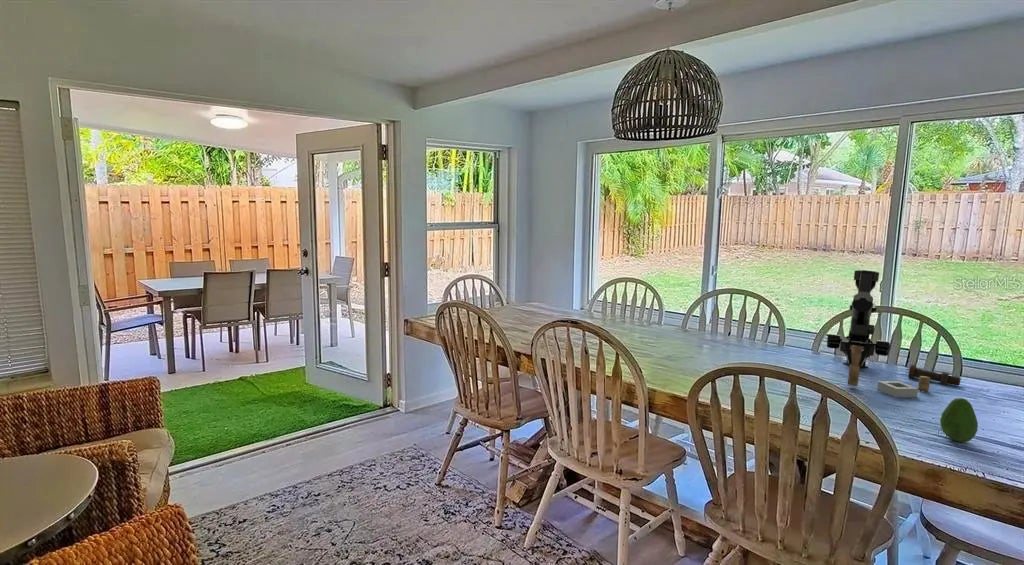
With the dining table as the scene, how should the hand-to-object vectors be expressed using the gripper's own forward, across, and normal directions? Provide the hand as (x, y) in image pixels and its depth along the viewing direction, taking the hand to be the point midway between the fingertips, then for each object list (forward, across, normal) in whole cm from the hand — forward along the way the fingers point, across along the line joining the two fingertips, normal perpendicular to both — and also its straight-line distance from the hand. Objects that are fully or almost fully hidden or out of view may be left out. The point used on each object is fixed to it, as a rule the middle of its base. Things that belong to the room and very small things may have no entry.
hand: (855, 364), depth 191 cm
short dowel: (-3, +21, +16) cm, 27 cm away
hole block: (+3, +13, +9) cm, 16 cm away
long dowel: (+4, 0, +6) cm, 8 cm away
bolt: (-14, +25, +28) cm, 40 cm away
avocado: (+30, +25, -17) cm, 43 cm away
